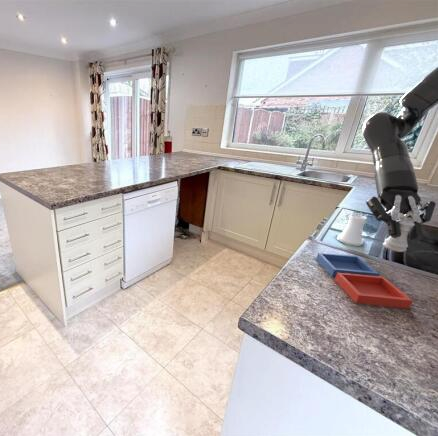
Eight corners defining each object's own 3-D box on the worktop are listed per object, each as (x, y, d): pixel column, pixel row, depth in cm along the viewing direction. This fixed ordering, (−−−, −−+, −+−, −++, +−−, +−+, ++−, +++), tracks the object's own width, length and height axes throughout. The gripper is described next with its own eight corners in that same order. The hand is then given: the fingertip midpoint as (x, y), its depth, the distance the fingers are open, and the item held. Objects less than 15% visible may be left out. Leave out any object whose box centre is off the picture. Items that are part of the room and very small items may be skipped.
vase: (341, 234, 96) (350, 211, 93) (365, 242, 91) (375, 217, 87) (333, 239, 92) (341, 215, 89) (357, 247, 87) (367, 222, 83)
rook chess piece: (401, 246, 63) (415, 217, 60) (409, 254, 60) (424, 224, 56) (379, 242, 65) (391, 214, 62) (386, 250, 61) (399, 220, 58)
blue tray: (355, 262, 78) (357, 255, 77) (376, 281, 69) (379, 273, 68) (315, 259, 79) (318, 252, 78) (331, 276, 71) (334, 269, 70)
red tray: (380, 284, 68) (383, 276, 67) (408, 308, 59) (413, 300, 58) (334, 279, 69) (337, 272, 68) (355, 303, 60) (359, 295, 60)
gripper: (372, 167, 63) (381, 229, 57) (440, 170, 60) (458, 236, 54) (354, 182, 70) (362, 239, 64) (415, 186, 67) (428, 246, 61)
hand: (405, 237), depth 59 cm, fingers closed on rook chess piece, 3 cm apart
